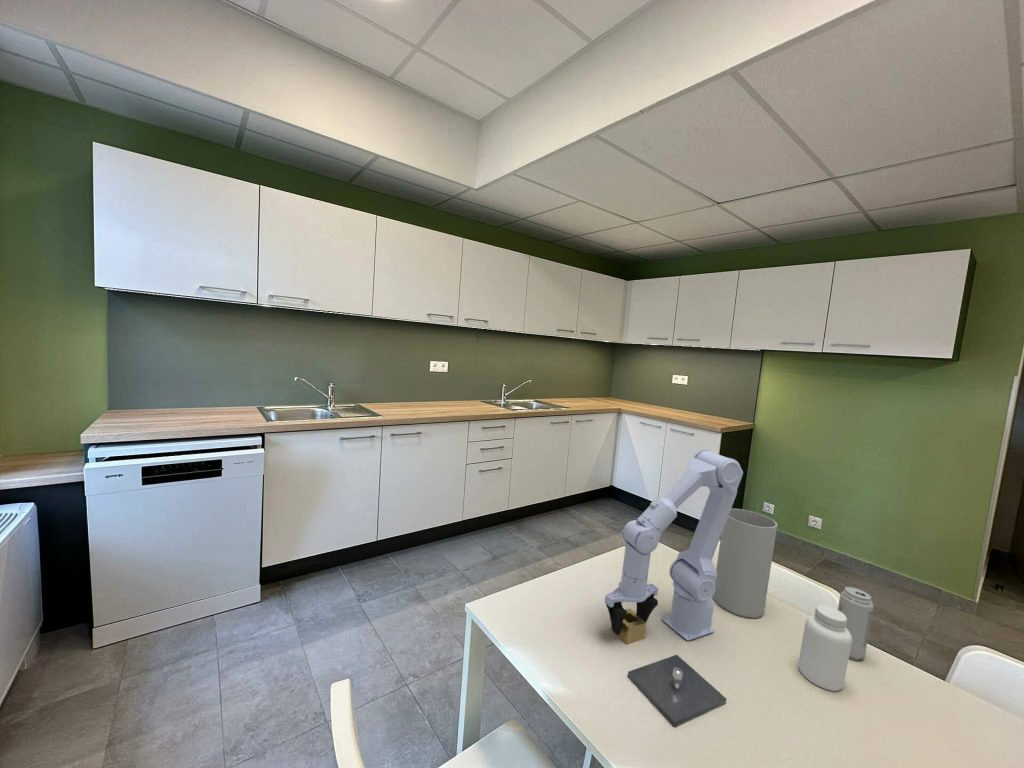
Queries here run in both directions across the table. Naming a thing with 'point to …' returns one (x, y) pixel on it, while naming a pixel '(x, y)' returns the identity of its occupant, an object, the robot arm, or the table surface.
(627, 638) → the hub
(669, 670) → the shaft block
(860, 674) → the table surface
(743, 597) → the cylinder vase
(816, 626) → the pill bottle
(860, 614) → the energy drink can
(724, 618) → the table surface
